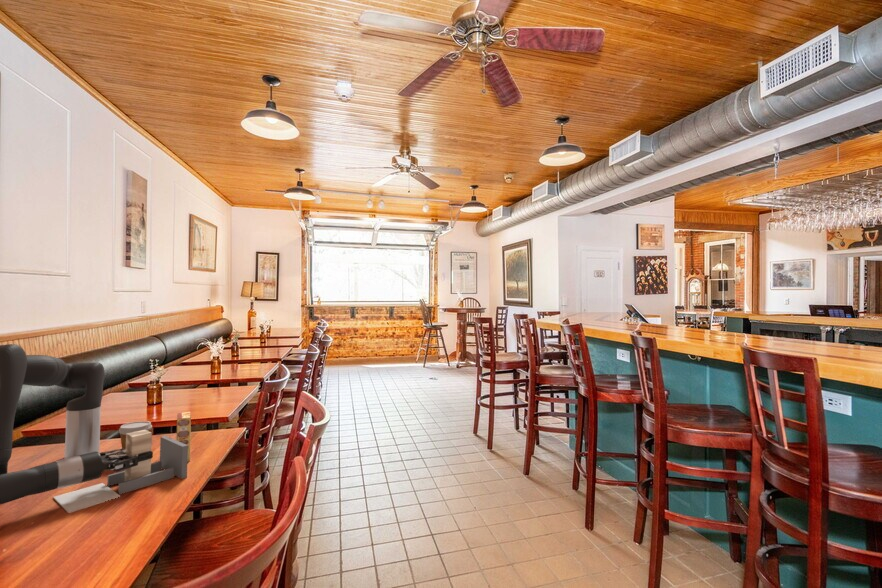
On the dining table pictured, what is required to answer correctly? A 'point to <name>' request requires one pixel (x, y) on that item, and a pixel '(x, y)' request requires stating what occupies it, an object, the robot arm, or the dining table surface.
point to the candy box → (184, 429)
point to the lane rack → (157, 467)
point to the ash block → (137, 445)
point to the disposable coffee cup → (133, 429)
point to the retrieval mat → (86, 497)
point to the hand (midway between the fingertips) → (147, 452)
